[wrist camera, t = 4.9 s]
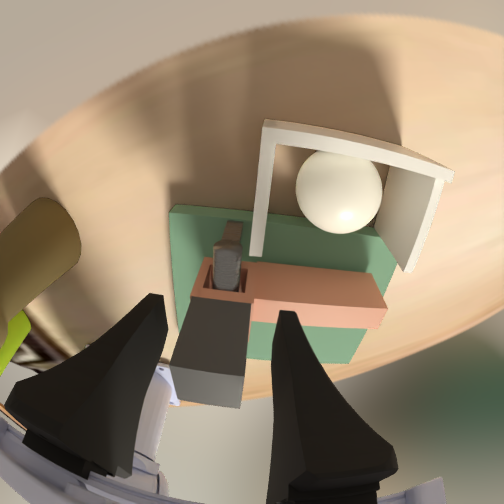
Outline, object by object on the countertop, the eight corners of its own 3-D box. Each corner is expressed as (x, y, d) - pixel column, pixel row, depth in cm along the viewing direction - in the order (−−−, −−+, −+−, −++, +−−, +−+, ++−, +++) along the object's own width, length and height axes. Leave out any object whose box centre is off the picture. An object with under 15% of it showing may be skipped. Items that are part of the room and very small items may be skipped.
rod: (219, 354, 19) (212, 393, 16) (223, 217, 14) (210, 252, 11) (235, 357, 19) (230, 395, 16) (247, 220, 14) (241, 256, 11)
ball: (306, 122, 10) (292, 160, 14) (301, 217, 10) (286, 234, 14) (394, 142, 10) (362, 172, 14) (398, 232, 10) (361, 243, 14)
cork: (25, 245, 17) (-55, 330, 8) (30, 183, 14) (-81, 267, 5) (75, 281, 18) (2, 387, 9) (87, 222, 16) (-23, 340, 6)
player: (207, 284, 15) (175, 398, 9) (207, 247, 14) (166, 364, 8) (361, 299, 15) (395, 406, 9) (374, 265, 14) (423, 375, 8)
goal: (254, 211, 15) (248, 262, 10) (264, 118, 12) (262, 127, 8) (380, 228, 15) (416, 279, 10) (402, 146, 12) (454, 171, 8)
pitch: (184, 337, 20) (181, 349, 19) (175, 204, 15) (168, 212, 14) (346, 352, 20) (348, 363, 19) (397, 231, 15) (405, 241, 14)
